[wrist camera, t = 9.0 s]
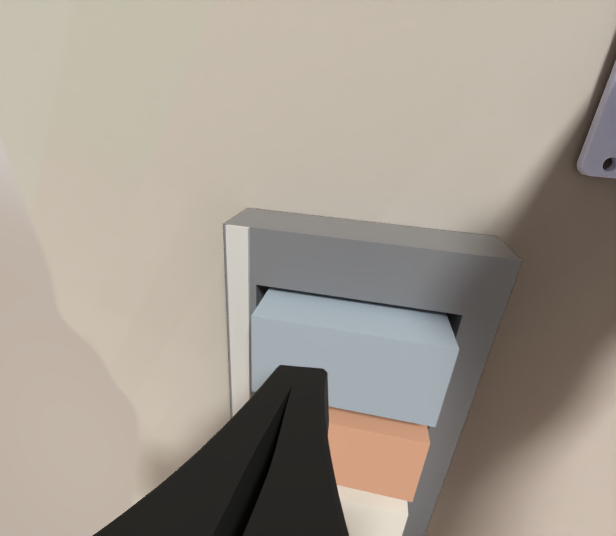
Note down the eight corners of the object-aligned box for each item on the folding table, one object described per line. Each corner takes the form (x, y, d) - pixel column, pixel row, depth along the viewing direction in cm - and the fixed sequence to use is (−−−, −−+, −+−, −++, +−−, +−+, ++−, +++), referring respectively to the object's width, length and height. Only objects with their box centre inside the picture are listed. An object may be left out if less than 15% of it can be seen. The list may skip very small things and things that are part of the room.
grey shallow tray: (496, 236, 15) (524, 262, 12) (412, 505, 24) (417, 559, 21) (247, 207, 17) (221, 225, 14) (249, 468, 25) (233, 512, 22)
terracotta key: (420, 382, 18) (430, 443, 14) (405, 435, 19) (412, 502, 16) (274, 356, 19) (251, 407, 15) (273, 408, 21) (252, 465, 17)
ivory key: (403, 447, 20) (408, 514, 16) (391, 490, 21) (394, 560, 18) (272, 420, 21) (252, 478, 18) (271, 462, 23) (252, 523, 19)
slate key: (441, 300, 16) (459, 349, 12) (423, 367, 17) (435, 427, 14) (276, 276, 17) (251, 315, 13) (274, 341, 18) (251, 391, 15)
